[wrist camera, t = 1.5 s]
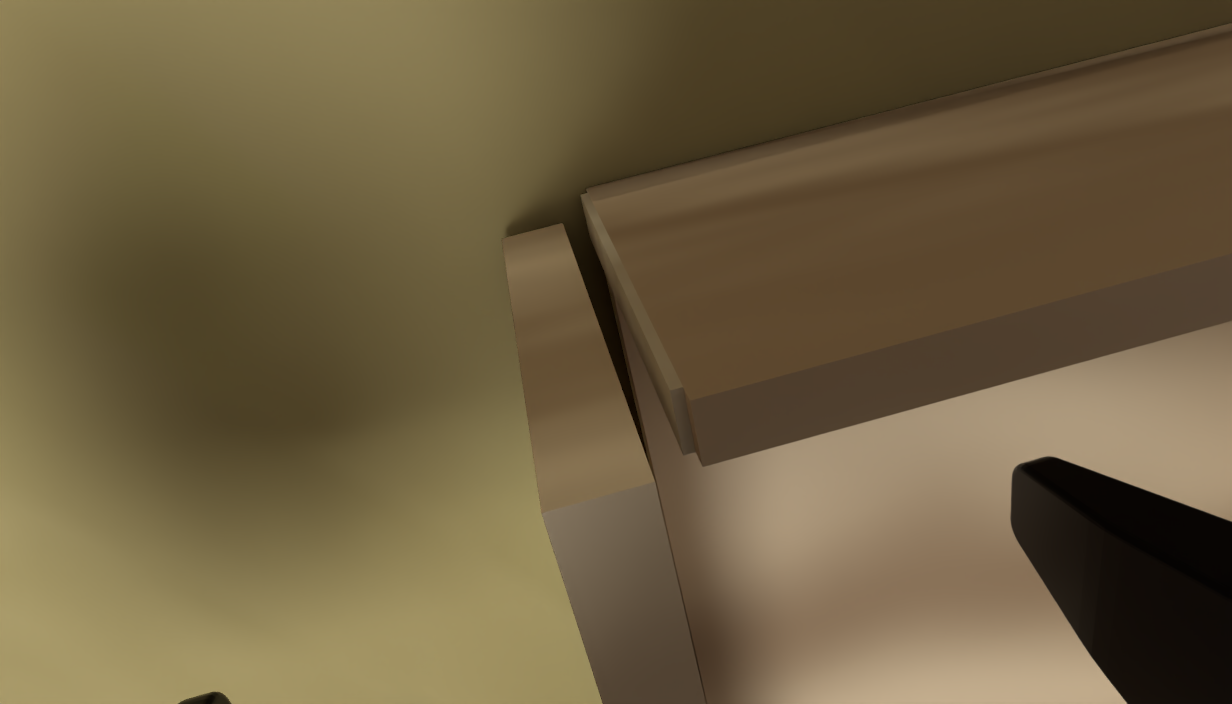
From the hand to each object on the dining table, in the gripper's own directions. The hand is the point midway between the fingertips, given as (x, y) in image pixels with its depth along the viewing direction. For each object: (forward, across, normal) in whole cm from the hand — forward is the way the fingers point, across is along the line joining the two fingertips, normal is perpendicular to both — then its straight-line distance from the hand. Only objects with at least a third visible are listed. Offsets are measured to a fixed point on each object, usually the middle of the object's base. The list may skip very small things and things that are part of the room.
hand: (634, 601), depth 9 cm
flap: (+3, 0, +5) cm, 6 cm away
